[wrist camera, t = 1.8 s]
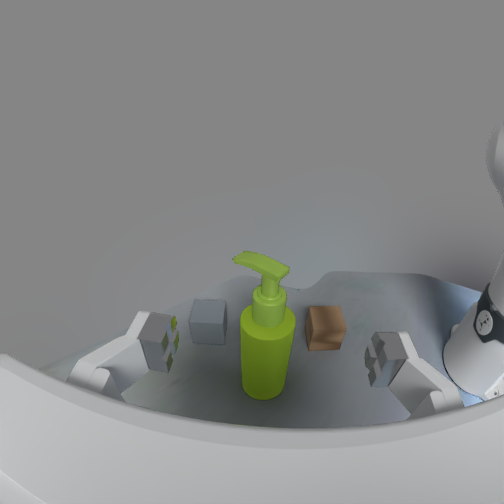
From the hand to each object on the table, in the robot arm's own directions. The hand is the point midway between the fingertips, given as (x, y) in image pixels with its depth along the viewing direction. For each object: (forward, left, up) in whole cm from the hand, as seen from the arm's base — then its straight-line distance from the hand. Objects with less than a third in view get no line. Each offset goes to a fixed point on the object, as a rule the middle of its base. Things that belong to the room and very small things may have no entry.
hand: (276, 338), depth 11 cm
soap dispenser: (0, -14, -26) cm, 29 cm away
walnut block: (-10, -22, -26) cm, 35 cm away
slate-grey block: (+8, -23, -26) cm, 35 cm away
